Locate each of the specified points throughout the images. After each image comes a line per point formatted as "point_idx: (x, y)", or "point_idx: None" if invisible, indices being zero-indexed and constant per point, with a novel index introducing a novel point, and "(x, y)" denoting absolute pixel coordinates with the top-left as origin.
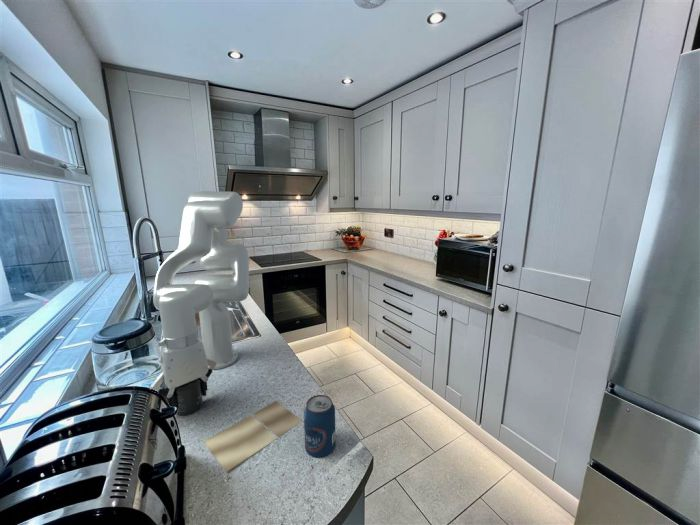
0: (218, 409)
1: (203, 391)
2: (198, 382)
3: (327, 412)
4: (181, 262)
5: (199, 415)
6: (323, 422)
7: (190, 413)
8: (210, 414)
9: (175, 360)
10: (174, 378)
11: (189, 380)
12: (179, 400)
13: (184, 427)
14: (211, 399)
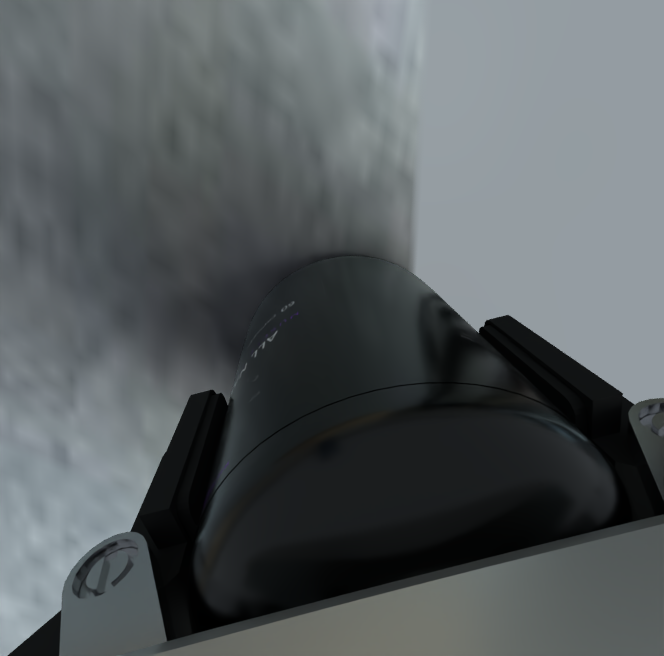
0: (126, 239)
1: (206, 424)
2: (223, 524)
3: None
4: None
5: (286, 251)
6: None
7: (358, 261)
8: (198, 208)
9: None
10: None
11: (453, 619)
12: (496, 350)
13: (413, 162)
14: (181, 403)
